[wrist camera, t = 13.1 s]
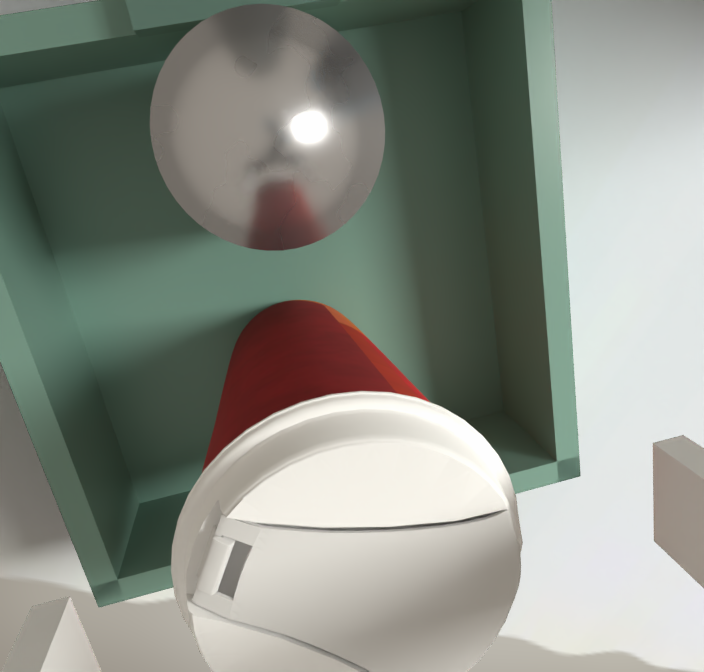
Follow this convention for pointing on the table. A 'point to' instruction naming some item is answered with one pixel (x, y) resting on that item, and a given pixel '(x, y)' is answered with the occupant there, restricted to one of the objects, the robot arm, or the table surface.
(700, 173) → the table surface
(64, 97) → the tote
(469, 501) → the coffee cup
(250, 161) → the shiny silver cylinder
